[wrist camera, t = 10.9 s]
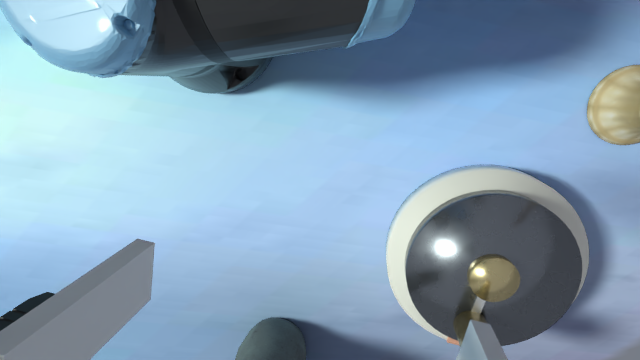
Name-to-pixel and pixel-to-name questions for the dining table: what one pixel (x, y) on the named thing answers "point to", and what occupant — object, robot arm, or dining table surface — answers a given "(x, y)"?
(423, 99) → the dining table surface
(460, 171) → the wheel base
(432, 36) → the dining table surface
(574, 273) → the handwheel
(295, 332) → the bottle
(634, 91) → the hand bell
